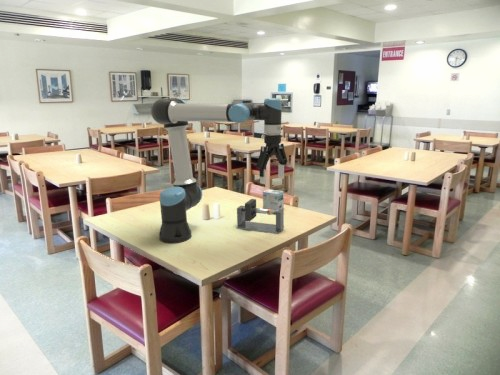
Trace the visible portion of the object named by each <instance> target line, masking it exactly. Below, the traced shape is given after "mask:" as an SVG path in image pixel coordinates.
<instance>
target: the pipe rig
mask: <svg viewBox="0 0 500 375" xmlns="http://www.w3.org/2000/svg"><path fill="white" fill-rule="evenodd" d="M251 212H252V213H256V214H264V215H267V216H270V215H273V216H275V224H274V223H264V222H255V221H245V205H239V206H238V207H237V208H236V222H237V223H236V224H237V226H236V229H237V230H243V231H253V232H260V233H266V234H267V233H268V234H269V233H270V234H274V235H275V234H277V235H278V234H279V233H282V232H283V231H284V228H285V225H284V221H285V220H284V219H285V218H284V215H285V214H284V209H282V210H281V209H279V210H271V209H263V208H259V207H256V208H251Z"/></svg>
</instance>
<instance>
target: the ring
mask: <svg viewBox="0 0 500 375" xmlns="http://www.w3.org/2000/svg"><path fill="white" fill-rule="evenodd" d="M244 206H245V221H248V222H252V221H253V219H255V218H256V217H257V213H252V212H251V208H257V199H256V198H251V199H249V200H248V201H247V202H245V203H244Z"/></svg>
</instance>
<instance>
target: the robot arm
mask: <svg viewBox="0 0 500 375" xmlns="http://www.w3.org/2000/svg"><path fill="white" fill-rule="evenodd" d="M282 108H283V107H282V99H280V98H275V97H273V98H270V97H268V98H267V97H266V98H264V101H263V102H258V103H257V102H240V103H188V102H186V101H185V100H184V99H181V98H177V97H172V98H159V99H157V100H155V101H154V102H153V104H152V105H151V108H150V115H151V117H152V119H153V121H155V123H157V124H160V125H163V128H164V130H166V131H167V132H168V140H169V145H170V154H171V157H172V165H173V170H174V178H175V180H174V182H173V183H172V184H173V185H172V186H171V187H167V188H165V189H163V190H161V192H160V194H159V202H160V203H159V204H160V205H159V206H160V214H161V215H160V216H161V226H160V230H159V233H158V239H159V240H160V241H161V240H162V241H164V242H163V243H166V242H168V244H169V243H170V244H176V243H182V242H186V241H188V240H190V239H191V238H192V230H191V228H190V225H189V223H188V220H187V219H188V218H187V211H188V210H190V209H192V208H194V207H196V206H197V205H198V204H199V203H200V202H201V200H202V198H203V190H202V188H201V186H199V184H198V182H197V179H196V178H195V177H194V176H193V169H192V161H191V155H190V149H189V144H188V143H189V142H188V137H187V136H188V135H187V128H188V127H189V122H204V123H205V122H210V123H212V122H215V123H218V122H219V123H236V124H242V123H245V122H249V121H263V122H264V123H263V125H264V127H263V133H264V135H263V143H264V144H265V146H263V145H262V146H260V152H259V155H258V158H257V163H256V166H255V168H256V169H258V170H259V184H262V185H266V184H267V171H266V168H267V164H268V162H269V161H270V158H272V157H273V156H275V157H276V160H277V161H278V163H279V164H278V166H277V168H278V169H277V170H278V171H277V172H278V174H277V178H278V179H280V180H284V179H285V166H286V165H287V164H288V158H287V153H286V152H285V147H284V146H285V145H284V143H282V135H281V134H282V114H283V112H282V111H283V109H282ZM162 241H161V242H162Z"/></svg>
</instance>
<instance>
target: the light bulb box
mask: <svg viewBox="0 0 500 375" xmlns="http://www.w3.org/2000/svg"><path fill="white" fill-rule="evenodd" d="M284 204H285V203H284V190H276V189H275V190H274V189H269V188H268V189H266V190H264V191H263V190H262V209H271V210H279V209H281V210H284Z"/></svg>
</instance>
